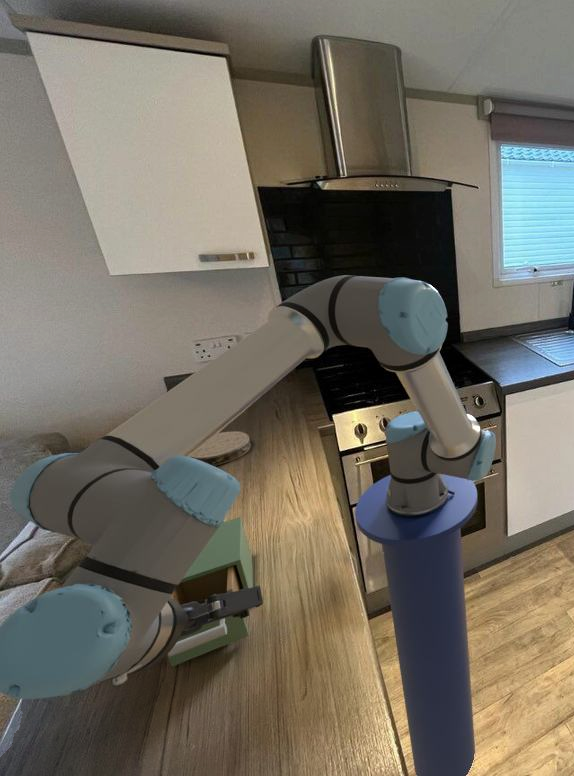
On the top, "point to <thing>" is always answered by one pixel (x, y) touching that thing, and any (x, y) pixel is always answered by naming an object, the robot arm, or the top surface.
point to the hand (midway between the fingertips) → (185, 628)
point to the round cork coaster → (223, 448)
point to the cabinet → (225, 554)
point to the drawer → (212, 632)
